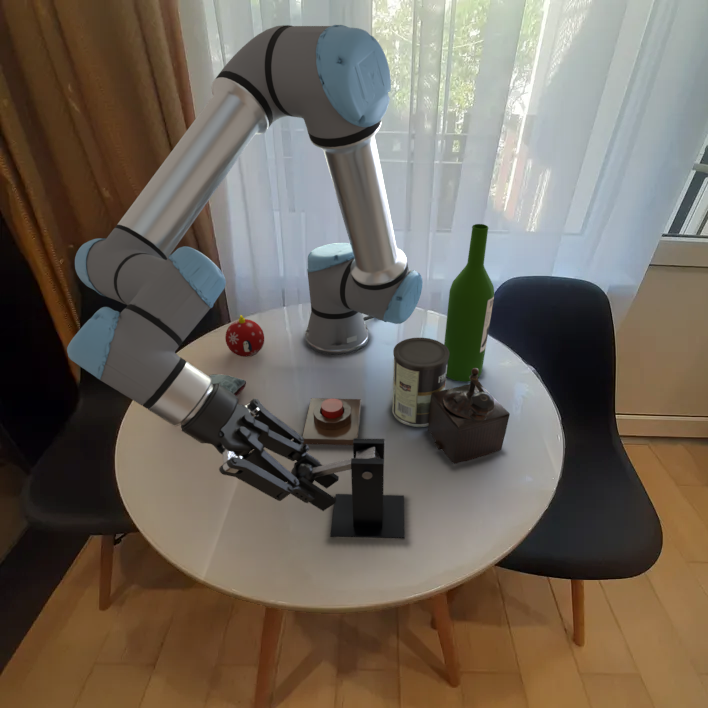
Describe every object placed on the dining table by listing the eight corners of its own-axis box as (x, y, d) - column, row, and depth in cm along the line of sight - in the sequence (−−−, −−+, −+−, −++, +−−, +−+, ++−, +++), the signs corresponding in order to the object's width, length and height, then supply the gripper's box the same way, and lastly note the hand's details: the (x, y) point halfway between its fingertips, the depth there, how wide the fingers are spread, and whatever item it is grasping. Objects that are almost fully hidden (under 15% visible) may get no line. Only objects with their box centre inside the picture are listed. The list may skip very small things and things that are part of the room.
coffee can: (445, 398, 101) (451, 340, 92) (439, 431, 93) (446, 370, 84) (396, 392, 102) (398, 334, 94) (387, 423, 94) (388, 362, 86)
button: (323, 405, 93) (322, 398, 92) (343, 405, 93) (343, 398, 92) (320, 418, 89) (319, 411, 88) (342, 419, 89) (341, 412, 88)
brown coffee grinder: (422, 432, 92) (429, 352, 82) (472, 418, 96) (485, 340, 85) (464, 490, 81) (477, 405, 70) (519, 472, 84) (540, 389, 74)
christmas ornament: (265, 342, 118) (259, 305, 112) (267, 361, 111) (262, 322, 105) (228, 346, 116) (221, 309, 110) (229, 366, 109) (220, 327, 103)
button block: (311, 406, 98) (310, 390, 96) (361, 407, 98) (360, 391, 96) (302, 447, 88) (300, 431, 86) (357, 449, 88) (356, 432, 86)
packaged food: (180, 415, 95) (174, 395, 92) (214, 381, 104) (210, 362, 101) (219, 424, 93) (215, 404, 90) (250, 389, 102) (247, 370, 100)
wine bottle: (481, 384, 105) (505, 236, 86) (440, 379, 106) (454, 232, 87) (482, 361, 112) (504, 220, 93) (443, 357, 113) (457, 217, 94)
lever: (295, 495, 70) (284, 479, 68) (299, 476, 73) (288, 460, 71) (381, 475, 67) (372, 458, 65) (382, 457, 70) (373, 439, 68)
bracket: (330, 540, 72) (324, 470, 64) (335, 498, 79) (331, 430, 70) (404, 542, 72) (408, 472, 64) (403, 500, 79) (407, 432, 70)
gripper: (201, 382, 71) (321, 465, 81) (155, 465, 57) (306, 552, 67) (231, 352, 68) (352, 442, 77) (190, 432, 54) (343, 529, 64)
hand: (330, 493), depth 72 cm, fingers closed on lever, 4 cm apart
